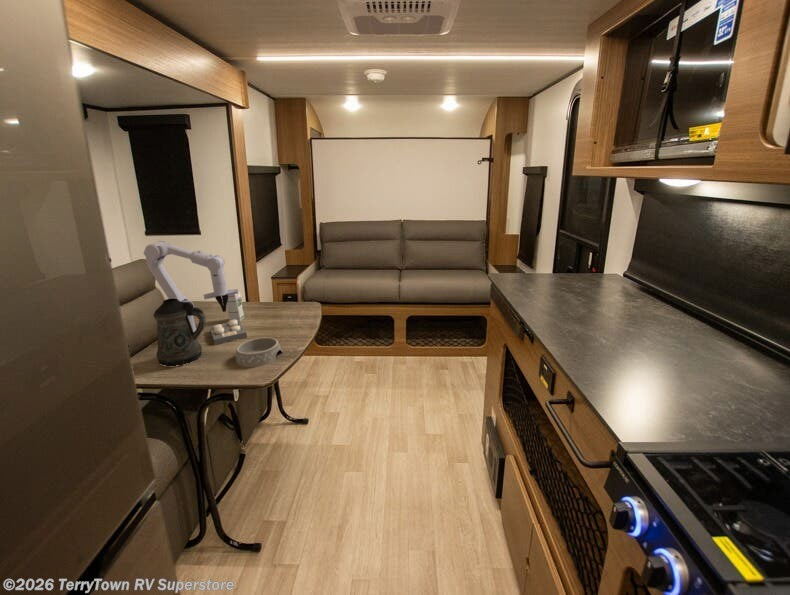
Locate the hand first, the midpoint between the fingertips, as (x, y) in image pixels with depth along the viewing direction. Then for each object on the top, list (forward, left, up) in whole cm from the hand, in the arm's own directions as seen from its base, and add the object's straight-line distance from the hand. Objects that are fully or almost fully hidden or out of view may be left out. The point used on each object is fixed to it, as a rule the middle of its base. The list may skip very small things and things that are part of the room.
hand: (224, 311), depth 189 cm
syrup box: (+6, +15, -11) cm, 19 cm away
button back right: (+3, +1, -9) cm, 9 cm away
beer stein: (-20, -19, -11) cm, 29 cm away
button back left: (-4, +1, -10) cm, 10 cm away
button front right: (+3, -6, -10) cm, 12 cm away
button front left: (-4, -6, -9) cm, 11 cm away
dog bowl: (+7, -37, -11) cm, 39 cm away
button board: (-1, -4, -10) cm, 11 cm away
